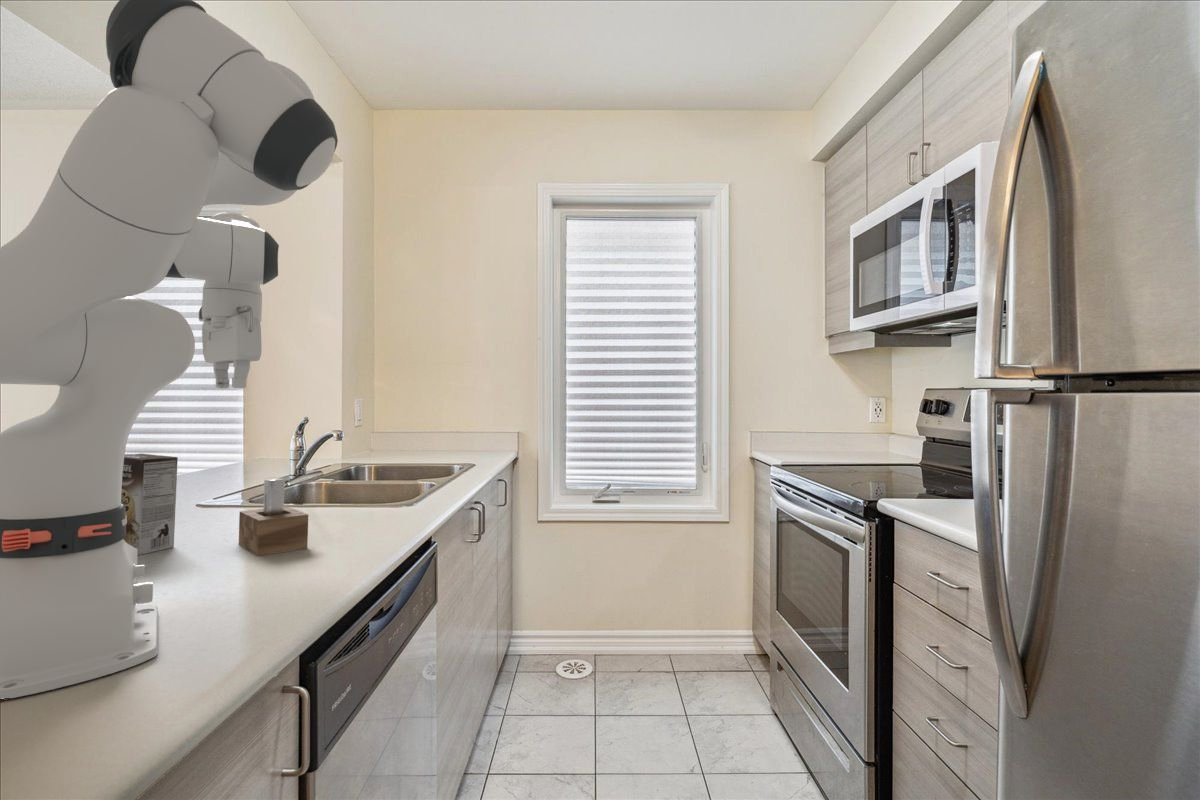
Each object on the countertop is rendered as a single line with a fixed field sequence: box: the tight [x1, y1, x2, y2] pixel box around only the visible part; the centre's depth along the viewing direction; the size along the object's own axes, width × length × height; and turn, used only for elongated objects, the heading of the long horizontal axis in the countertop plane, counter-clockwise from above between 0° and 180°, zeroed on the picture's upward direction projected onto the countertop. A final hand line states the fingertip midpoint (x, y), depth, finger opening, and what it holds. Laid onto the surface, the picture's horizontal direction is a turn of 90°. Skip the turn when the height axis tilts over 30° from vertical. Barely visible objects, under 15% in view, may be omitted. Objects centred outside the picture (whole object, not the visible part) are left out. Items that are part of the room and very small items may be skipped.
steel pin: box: [262, 478, 286, 517], centre depth 104 cm, size 3×3×10 cm
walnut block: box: [238, 505, 309, 557], centre depth 104 cm, size 10×8×6 cm
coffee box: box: [121, 453, 179, 556], centre depth 100 cm, size 9×6×16 cm
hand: (230, 388), depth 101 cm, fingers open, 8 cm apart
